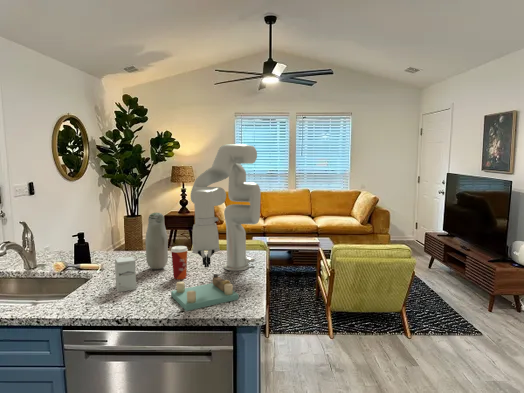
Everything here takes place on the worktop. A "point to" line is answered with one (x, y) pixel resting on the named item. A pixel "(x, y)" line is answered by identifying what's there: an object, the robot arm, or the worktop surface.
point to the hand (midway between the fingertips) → (206, 266)
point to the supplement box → (125, 274)
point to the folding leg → (219, 282)
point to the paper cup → (179, 261)
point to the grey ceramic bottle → (156, 242)
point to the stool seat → (202, 295)
